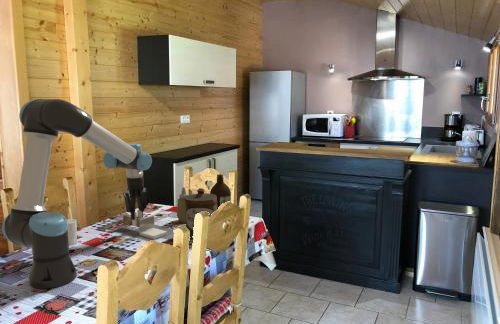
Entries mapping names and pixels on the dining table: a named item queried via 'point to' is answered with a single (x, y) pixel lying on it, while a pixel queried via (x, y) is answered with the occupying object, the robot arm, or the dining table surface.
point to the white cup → (72, 231)
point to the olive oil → (221, 191)
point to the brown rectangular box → (140, 221)
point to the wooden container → (199, 206)
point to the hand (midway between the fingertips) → (137, 224)
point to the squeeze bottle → (182, 206)
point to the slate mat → (136, 232)
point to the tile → (153, 233)
